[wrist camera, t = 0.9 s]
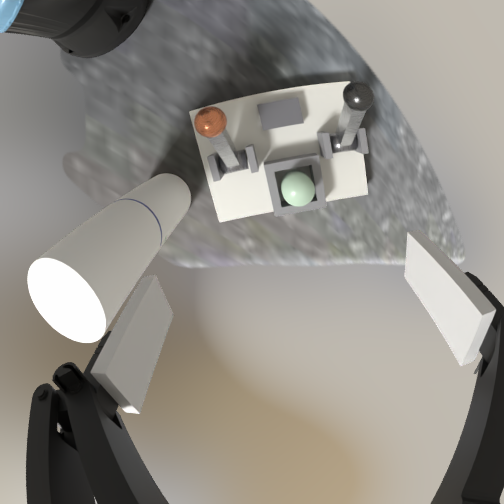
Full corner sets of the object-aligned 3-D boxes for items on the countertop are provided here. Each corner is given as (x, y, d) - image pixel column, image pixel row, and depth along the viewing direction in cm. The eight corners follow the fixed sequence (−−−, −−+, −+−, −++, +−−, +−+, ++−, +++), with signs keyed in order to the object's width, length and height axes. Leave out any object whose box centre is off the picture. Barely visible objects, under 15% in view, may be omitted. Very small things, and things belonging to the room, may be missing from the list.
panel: (193, 111, 32) (181, 110, 27) (344, 83, 30) (358, 77, 25) (222, 216, 39) (215, 231, 34) (361, 189, 36) (376, 201, 31)
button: (277, 173, 32) (279, 178, 29) (307, 167, 31) (312, 172, 29) (283, 201, 34) (285, 209, 31) (312, 196, 33) (317, 203, 30)
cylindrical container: (193, 176, 36) (98, 270, 14) (188, 224, 40) (113, 353, 17) (145, 170, 36) (18, 249, 14) (143, 217, 39) (41, 327, 17)
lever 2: (326, 137, 31) (339, 76, 19) (348, 134, 31) (371, 74, 19) (332, 158, 31) (350, 102, 19) (355, 154, 31) (383, 99, 18)
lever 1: (222, 157, 33) (187, 106, 21) (246, 152, 33) (221, 96, 20) (225, 178, 33) (189, 133, 20) (250, 173, 33) (226, 123, 20)
